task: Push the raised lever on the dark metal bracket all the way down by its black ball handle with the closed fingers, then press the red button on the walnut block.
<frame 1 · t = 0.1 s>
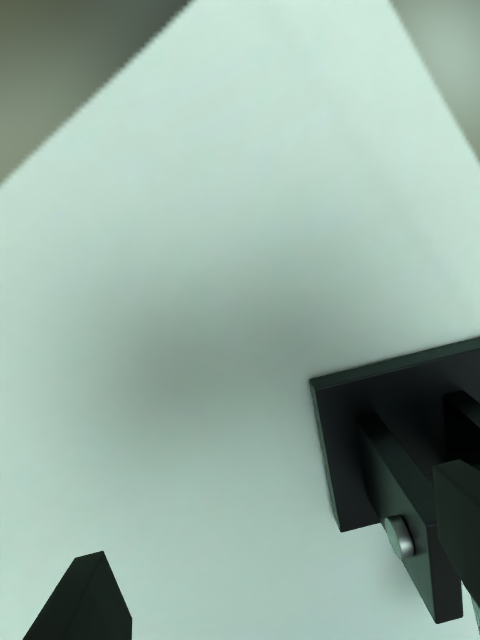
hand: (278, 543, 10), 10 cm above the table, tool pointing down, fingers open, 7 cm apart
bracket: (403, 432, 21), on the table
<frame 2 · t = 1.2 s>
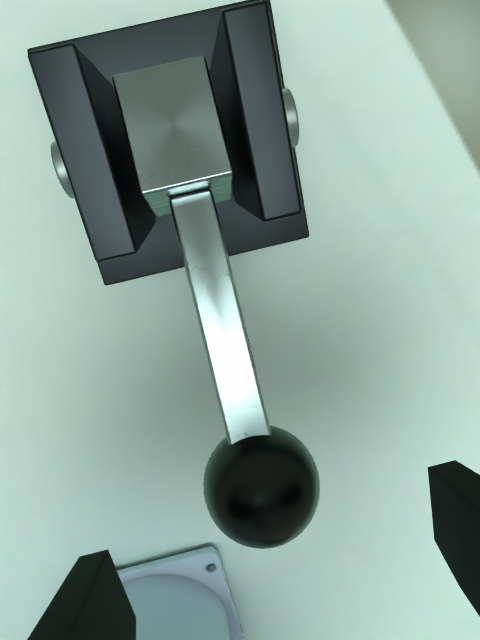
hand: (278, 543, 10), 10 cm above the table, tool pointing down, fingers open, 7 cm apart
lever: (220, 317, 12), point 7 cm above the table, hinge at 18.0°
bracket: (181, 152, 17), on the table
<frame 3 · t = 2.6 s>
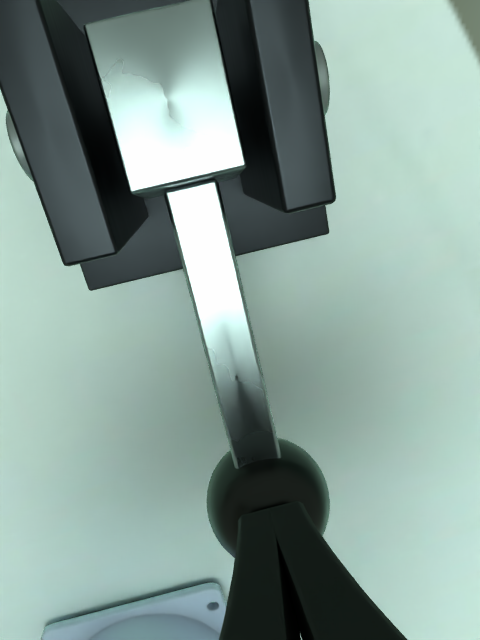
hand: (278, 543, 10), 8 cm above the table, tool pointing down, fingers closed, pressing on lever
lever: (225, 329, 10), point 6 cm above the table, hinge at 5.8°, touching gripper
bracket: (178, 133, 14), on the table
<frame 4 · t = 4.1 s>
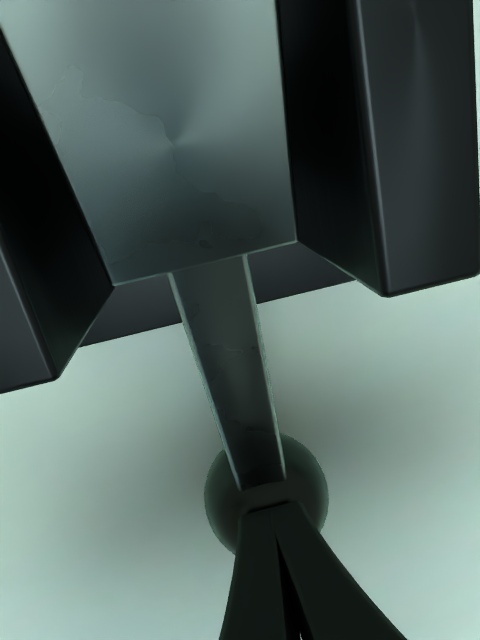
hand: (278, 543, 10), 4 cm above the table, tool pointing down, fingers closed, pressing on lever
lever: (235, 374, 8), point 4 cm above the table, hinge at -21.5°, touching gripper
bracket: (178, 138, 10), on the table
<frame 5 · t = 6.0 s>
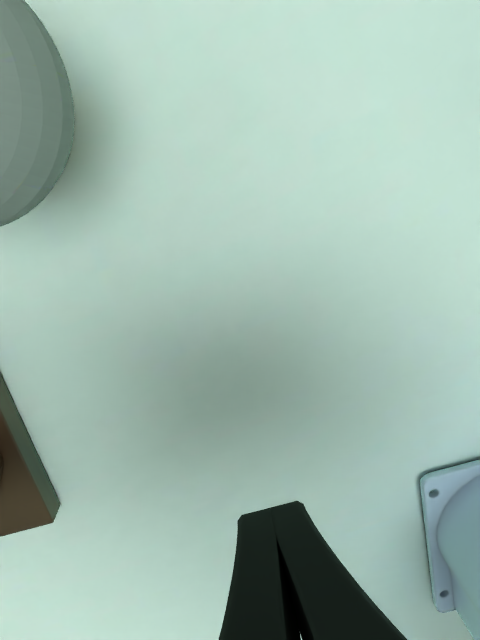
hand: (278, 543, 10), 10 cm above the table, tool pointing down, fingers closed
light bulb: (44, 129, 16), on the table
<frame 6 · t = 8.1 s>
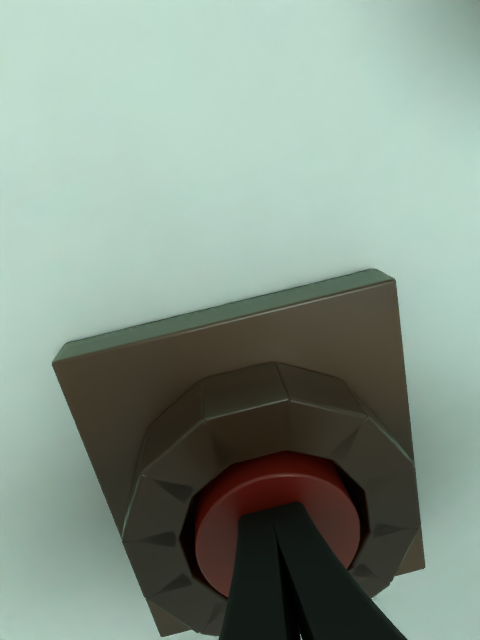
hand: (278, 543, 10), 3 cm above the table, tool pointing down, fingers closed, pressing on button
button: (272, 515, 10), point 2 cm above the table, slide at -1.0 cm, touching gripper
button block: (257, 452, 13), on the table
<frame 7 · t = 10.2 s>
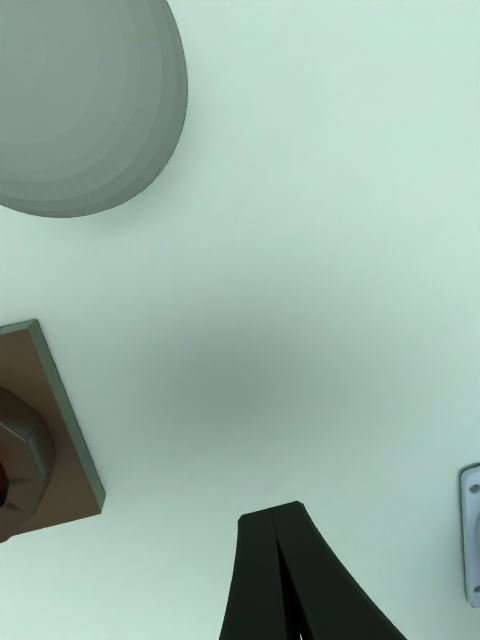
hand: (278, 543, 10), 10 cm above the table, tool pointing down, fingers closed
light bulb: (111, 117, 16), on the table
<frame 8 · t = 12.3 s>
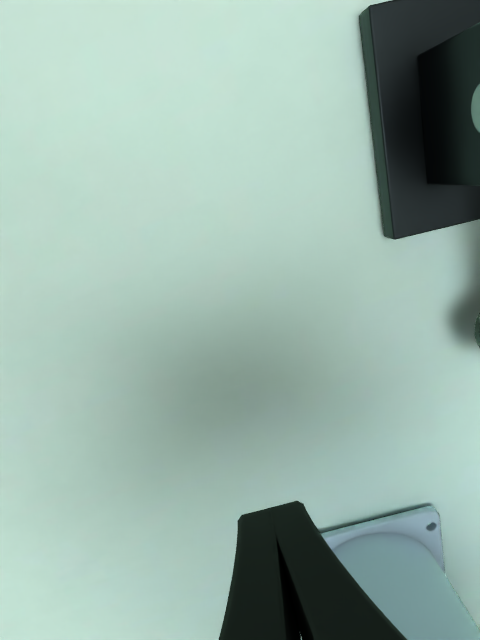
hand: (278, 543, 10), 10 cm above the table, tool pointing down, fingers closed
bracket: (472, 110, 17), on the table
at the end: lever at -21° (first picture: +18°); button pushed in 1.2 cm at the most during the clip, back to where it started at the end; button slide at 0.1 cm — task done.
